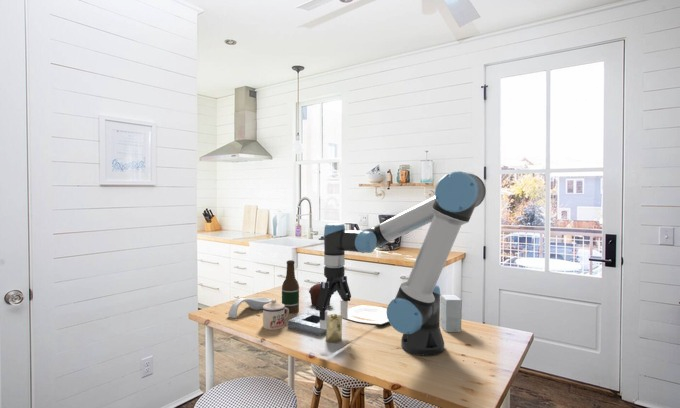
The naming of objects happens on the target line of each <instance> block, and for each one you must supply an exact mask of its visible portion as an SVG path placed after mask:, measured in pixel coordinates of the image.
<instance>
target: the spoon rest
mask: <svg viewBox="0 0 680 408" xmlns="http://www.w3.org/2000/svg"><path fill="white" fill-rule="evenodd" d="M271 300H272V298H267V297H250V298H249V297H248V298H245V297H239V298H238V299H236V300H235V301H234V302H233V303H232V305H231V306H230V308H229V310H228V314H227V315H228V318H231V319H237V318H238V309H239V306H240V305H241V304H242V303H244V302H245V303H246V304H247V305H248V307H250V308H251V310H258V311H259V310H263V309H262V308H263V306H264V305H265V304H268V303H269V302H271Z"/></svg>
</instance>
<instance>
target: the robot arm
mask: <svg viewBox="0 0 680 408" xmlns="http://www.w3.org/2000/svg"><path fill="white" fill-rule="evenodd" d="M486 192H487V190H486V185H485V182H484V181H483V180H482V179H481V177H479V176H478V175H476V174H473V173H467V172H464V171H453V172H450V173H447V174H445V175H444V176H443V177H442V176H441V178H440V179H439V181H438V182H437V184H436V186H435V191H434V196H432V197H431V198H429V199H427V200H424V201H423V202H420V203H418V204H417V205H414V206H413V207H411V208H409V209H407V210H404V211H403V212H400V213H399V214H397V215H395V216H393V217H391V218H389V219H387V220H385V221H383V222H381V223H379V224H377V225H375V226H373V227H371V228H365V229H359V230H358V229H357V230H356V229H355V230H353V229H346V226H345V224H344V223H327V224H325V225H324V228H323V230H324V231H323V247H324V248H323V249H324V252H323V253H324V254H323V258H324V259H323V261H324V263H323V265H324V267H323V275H324V277H325V278H326V281H321V283H320V284H321V289H320V293H319V296H318V300H317V304H316V307H314V309H315V311H318V312H319V313H320V328H321V329H325V330H327V315H328V310H327V308H328V307H329V306H328V304H329V301H330V302H331V299H332V298H331V297H332V295H334V294H335V293H336V292H337V294H338V295H339V296H340V299H341V300H340V316H342V319H345V320H348V319H347V318H348V309H349V308H348V304H349V302H351V298H352V292H351V290H350V286H349V284H348V277H347V275H346V274H345V271H346V270H345V269H346V268H345V264H346V263H345V261H346V260H345V255H346V254H345V253H346V252H347V251H348V252H354V253H361V254H365V253H367V254H370V253H373V252H374V250H375V249H376V248H381V247H383V246H385V245H386V244H388V243H389V242H391V241H393V240H395V239H397V238H399V237H402V236H404V235H406V234H409V233H410V232H413V231H415V230H417V229H419V228H422V227H424V226H426V225H428V224H430V225H429V228H428V230H427V232H426V235H425V238H424V240H423V242H422V245H421V247H420V249H419V251H418V254H417V257H416V258H415V261H414V264H413V266H412V269H411V270H410V274H409V275H408V279H407V281H405V282H402V283H401V284H400V285H399V288H398V290H397V292H396V295H395V298H394V299H391V301H389V303H388V305H387V308H386V309H387V318H388V320H389V322H388V323H389V325H390V326H391V327H392V328H393V329H394V330H395V331H397V332H398V333H400V334H402V337H401V339H400V345H401V348H402V349H403V350H404V351H406V352H407V353H409V354H412V355H418V356H425V357H426V356H430V357H431V356H437V355H439V354H442V353H444V351H445V340H444V337H443V334H442V330H441V326H440V308H441V295H442V294H441V289H440V286H439V285H437V283H438V280H439V278H440V277H441V276H440V275H441V273H442V271H443V269H444V267H445V264H446V262H447V260H448V258H449V255H450V253H451V250H452V248H453V246H454V243H455V241H456V239H457V236H458V234H459V231H460V229H461V228H462V226H463V225H465V224H468V223H469V222H470V219H471V218H472V216H473V212H474V210H475V208H477V207H478V206H479V205H481V204H482V203H483V202H484V199H485V197H486V194H487V193H486ZM324 288H325V289H324ZM328 289H329V290H328Z"/></svg>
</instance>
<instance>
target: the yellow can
mask: <svg viewBox="0 0 680 408" xmlns="http://www.w3.org/2000/svg"><path fill="white" fill-rule="evenodd" d="M342 340H343V318H342V316H341V314H337V313H331V314H327V330H326V334H325V341H326V342H327V343H330V344H331V343H332V344H336V343H337V344H338V343H341V342H342Z"/></svg>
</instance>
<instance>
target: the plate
mask: <svg viewBox="0 0 680 408" xmlns="http://www.w3.org/2000/svg"><path fill="white" fill-rule="evenodd" d="M357 317H358V318H357ZM360 318H361V319H360ZM365 319H366V320H365ZM346 320H348V321H352V322H356V323H359V324H360V323H361V324H368V325H375V326H382V325H384V324H387V323H389V320H388V318H387V308H385V307H382V306H375V305H374V306H373V305H362V304H361V305H360V304H359V305H357V306H353V307H351V308H348V318H347V319H346Z"/></svg>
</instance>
